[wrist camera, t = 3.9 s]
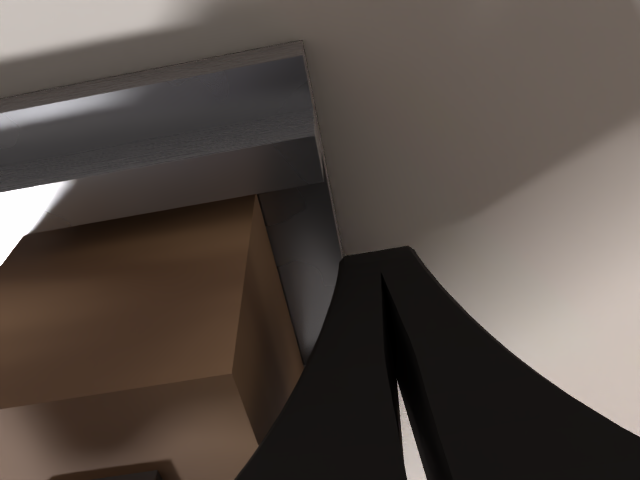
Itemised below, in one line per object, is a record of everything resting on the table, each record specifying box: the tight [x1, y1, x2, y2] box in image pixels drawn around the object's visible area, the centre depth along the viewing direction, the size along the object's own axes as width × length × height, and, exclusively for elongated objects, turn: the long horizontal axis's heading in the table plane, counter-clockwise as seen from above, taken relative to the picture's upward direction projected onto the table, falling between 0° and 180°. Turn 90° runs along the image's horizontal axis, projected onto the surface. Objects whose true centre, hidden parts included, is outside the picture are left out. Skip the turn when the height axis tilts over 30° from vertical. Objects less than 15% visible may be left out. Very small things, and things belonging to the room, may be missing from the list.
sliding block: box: [0, 194, 304, 480], centre depth 10 cm, size 4×5×5 cm
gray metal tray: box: [0, 40, 344, 368], centre depth 12 cm, size 14×9×2 cm, turn 100°
